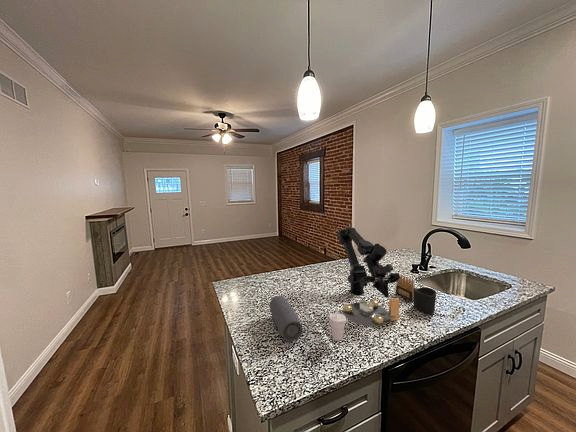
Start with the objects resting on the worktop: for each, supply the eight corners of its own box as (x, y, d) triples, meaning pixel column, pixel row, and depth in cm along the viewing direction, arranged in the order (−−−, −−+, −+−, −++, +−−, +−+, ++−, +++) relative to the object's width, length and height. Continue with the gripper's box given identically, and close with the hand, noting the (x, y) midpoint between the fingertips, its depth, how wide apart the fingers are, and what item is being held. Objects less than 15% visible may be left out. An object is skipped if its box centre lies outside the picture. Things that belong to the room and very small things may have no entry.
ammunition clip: (414, 301, 127) (415, 278, 126) (411, 301, 126) (412, 279, 125) (397, 293, 137) (398, 272, 135) (395, 293, 136) (396, 272, 135)
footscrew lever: (376, 325, 103) (377, 303, 102) (371, 320, 107) (372, 299, 106) (400, 321, 106) (401, 300, 104) (394, 317, 110) (395, 296, 108)
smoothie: (327, 335, 99) (327, 302, 97) (342, 334, 99) (343, 302, 98) (331, 346, 93) (331, 311, 91) (348, 345, 93) (348, 310, 91)
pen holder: (434, 317, 111) (436, 296, 110) (411, 312, 116) (412, 292, 115) (435, 308, 119) (436, 289, 118) (413, 304, 124) (414, 285, 123)
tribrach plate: (333, 313, 116) (333, 300, 115) (362, 300, 128) (362, 289, 127) (371, 334, 99) (371, 320, 98) (400, 318, 111) (401, 305, 110)
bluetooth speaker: (304, 342, 95) (304, 317, 94) (281, 347, 93) (280, 322, 91) (287, 313, 117) (287, 293, 116) (268, 316, 114) (268, 296, 113)
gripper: (363, 259, 112) (376, 292, 102) (398, 256, 116) (414, 287, 107) (354, 270, 120) (366, 302, 111) (387, 267, 125) (401, 297, 115)
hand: (387, 297), depth 111 cm, fingers closed
